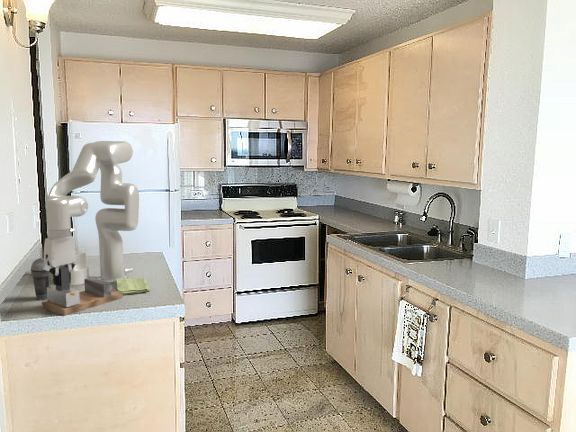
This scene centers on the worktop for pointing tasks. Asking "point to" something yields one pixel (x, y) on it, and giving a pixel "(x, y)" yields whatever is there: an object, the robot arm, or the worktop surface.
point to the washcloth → (131, 285)
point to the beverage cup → (40, 278)
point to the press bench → (88, 297)
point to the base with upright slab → (80, 270)
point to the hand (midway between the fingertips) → (62, 283)
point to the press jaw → (63, 291)
